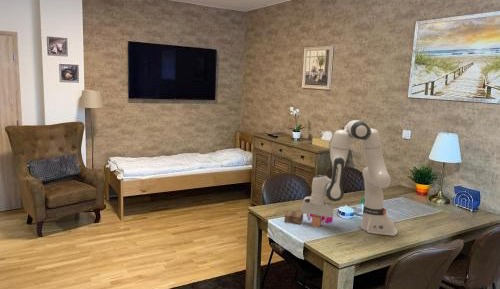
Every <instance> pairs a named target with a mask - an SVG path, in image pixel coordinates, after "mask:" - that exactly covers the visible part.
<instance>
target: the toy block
mask: <svg viewBox="0 0 500 289" xmlns="http://www.w3.org/2000/svg"><path fill="white" fill-rule="evenodd" d="M313 215H314V214H309V217H310V216H311V218H312V216H313ZM333 216H334V215H333ZM333 216H332V217H327V219H326V220H325V223H324V224H327V223H331V222H333V220H334V219H333ZM324 219H325V216H322V220H324ZM322 222H323V221H322ZM322 222H321V223H322Z"/></svg>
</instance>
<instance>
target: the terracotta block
mask: <svg viewBox="0 0 500 289" xmlns="http://www.w3.org/2000/svg"><path fill="white" fill-rule="evenodd" d="M311 226H312V227H317V228H320V227H321V226H322V216H320V215H313V216H312V217H311Z"/></svg>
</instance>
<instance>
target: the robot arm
mask: <svg viewBox="0 0 500 289" xmlns="http://www.w3.org/2000/svg"><path fill="white" fill-rule="evenodd" d="M380 136H381V135H380V133H379V131H378V129H376V128H370V127H369V125H367V123H366V122H364V121H361V120H359V119H350V120H348V121H347V122H345V124H344V126H343V127H342V128H341V129H338V130H336V131H335V132H334V133H333V136H332V139H331V143H330V149H329V156H330V161H331V164H332V171H331V172H332V175H331V178H329V177H328V176H327V175H325V174H317V175H314V177H313V179H312V184H311V194H310V195H309V196H305V197H304V198H303V201H302V203H301V207H300V211H301V213H303V214H305V215H306V218H307V221H312V217H310V214H314V215H320V216H325V219H324V220H322V221H323V222H321V224H322V223H323V224H326V223H325V220H326V219H327V217H332V216H334V209H335V204H334V203H333V202H338V201H341V200H342V199H343V197H344V194H345V193H344V189H343V178H344V169H345V166H346V162H347V159H348V155H349V152H350V145H351V142H352V140H353V139H356V140H361V143H362V151H363V159H364V162H365V164H366V167H365V168H363V170H362V177H363V185H364V205H363V207H362V219H361V223H360V225H359V228H360V229H361V230H363V231H366V233H369V234H374V235H375V234H376V235H382V236H383V235H385V236H391V237H394V236H396V235H397V234H398V229H397V228H396V227H395V222H394V220H393V219H391V218H390V217H389V216H388V215H387V210H386V208H384V197H385V196H384V193H383V189H386V188H388V187H389V186H391V185H390V184H391V182H392V177H391V176H390V174H389V171H388V169H387V165H386V162H385V159H384V155H383V154H384V153H383V146H382V140H381V138H380ZM326 198H328V200H329V201H326ZM331 201H332V202H331Z"/></svg>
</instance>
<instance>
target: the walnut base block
mask: <svg viewBox="0 0 500 289" xmlns="http://www.w3.org/2000/svg"><path fill="white" fill-rule="evenodd" d="M303 220H304V213H303V212H300V211H293V210H288V211H287V212H286V213H285V214H284V223H288V224H292V225H301V224H302V222H303Z"/></svg>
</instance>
